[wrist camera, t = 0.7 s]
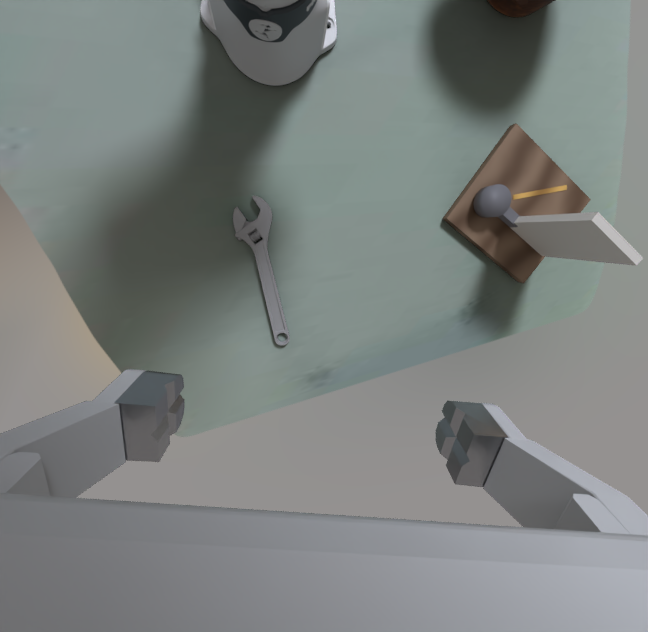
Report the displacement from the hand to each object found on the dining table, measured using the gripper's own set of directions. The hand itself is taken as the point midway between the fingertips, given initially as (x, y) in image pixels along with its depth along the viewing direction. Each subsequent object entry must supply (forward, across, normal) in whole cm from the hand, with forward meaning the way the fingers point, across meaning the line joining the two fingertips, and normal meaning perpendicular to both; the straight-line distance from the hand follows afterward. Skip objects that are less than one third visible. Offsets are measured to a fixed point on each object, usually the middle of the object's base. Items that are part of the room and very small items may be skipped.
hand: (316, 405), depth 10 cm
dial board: (+50, -35, -8) cm, 62 cm away
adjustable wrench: (+45, +8, +8) cm, 47 cm away
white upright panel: (+48, -34, -5) cm, 59 cm away
